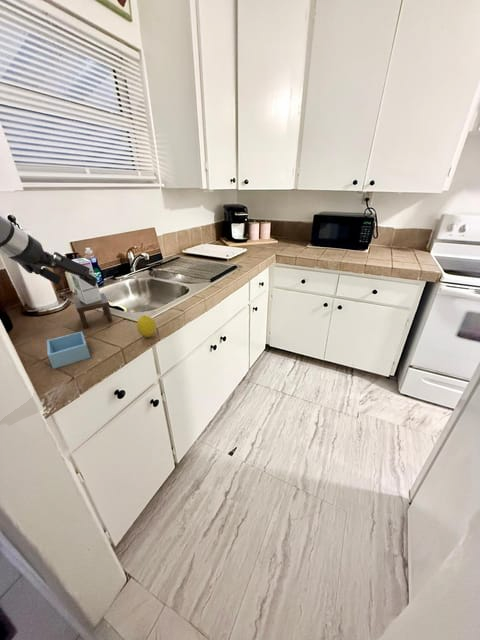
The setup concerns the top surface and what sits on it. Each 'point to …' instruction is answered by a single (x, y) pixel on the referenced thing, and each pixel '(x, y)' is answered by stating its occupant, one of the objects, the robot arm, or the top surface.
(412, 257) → the top surface
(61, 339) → the bin
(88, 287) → the syrup box
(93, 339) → the top surface
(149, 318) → the lemon
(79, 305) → the stool
